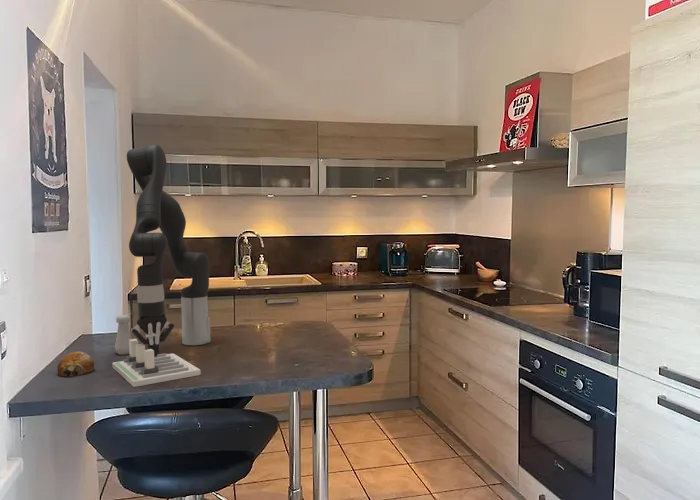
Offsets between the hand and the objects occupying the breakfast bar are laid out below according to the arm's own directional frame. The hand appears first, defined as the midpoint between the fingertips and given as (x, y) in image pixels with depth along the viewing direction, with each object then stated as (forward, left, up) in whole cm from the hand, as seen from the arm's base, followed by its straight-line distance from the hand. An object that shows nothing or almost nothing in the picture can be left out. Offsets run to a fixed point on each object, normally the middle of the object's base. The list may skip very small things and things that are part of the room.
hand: (153, 356), depth 168 cm
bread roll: (+19, -14, -5) cm, 24 cm away
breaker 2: (+4, 0, -3) cm, 5 cm away
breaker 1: (+4, -8, -3) cm, 9 cm away
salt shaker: (+2, -28, -5) cm, 29 cm away
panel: (0, 0, -5) cm, 5 cm away
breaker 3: (+4, +8, -3) cm, 9 cm away
